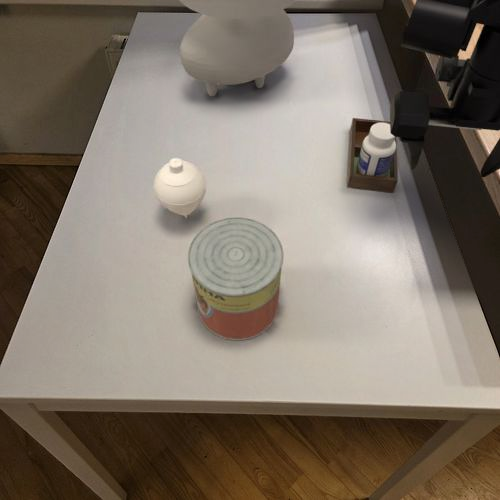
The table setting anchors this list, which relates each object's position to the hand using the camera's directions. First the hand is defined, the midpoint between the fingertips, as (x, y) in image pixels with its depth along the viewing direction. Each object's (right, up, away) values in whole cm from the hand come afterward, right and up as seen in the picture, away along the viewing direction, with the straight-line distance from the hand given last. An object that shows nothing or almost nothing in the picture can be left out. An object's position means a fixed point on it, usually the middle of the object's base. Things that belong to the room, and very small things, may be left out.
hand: (446, 171), depth 61 cm
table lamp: (-29, +23, +31) cm, 49 cm away
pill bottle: (-6, +2, +16) cm, 17 cm away
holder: (-6, +5, +18) cm, 20 cm away
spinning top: (-37, -6, +11) cm, 39 cm away
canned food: (-29, -18, +2) cm, 34 cm away
